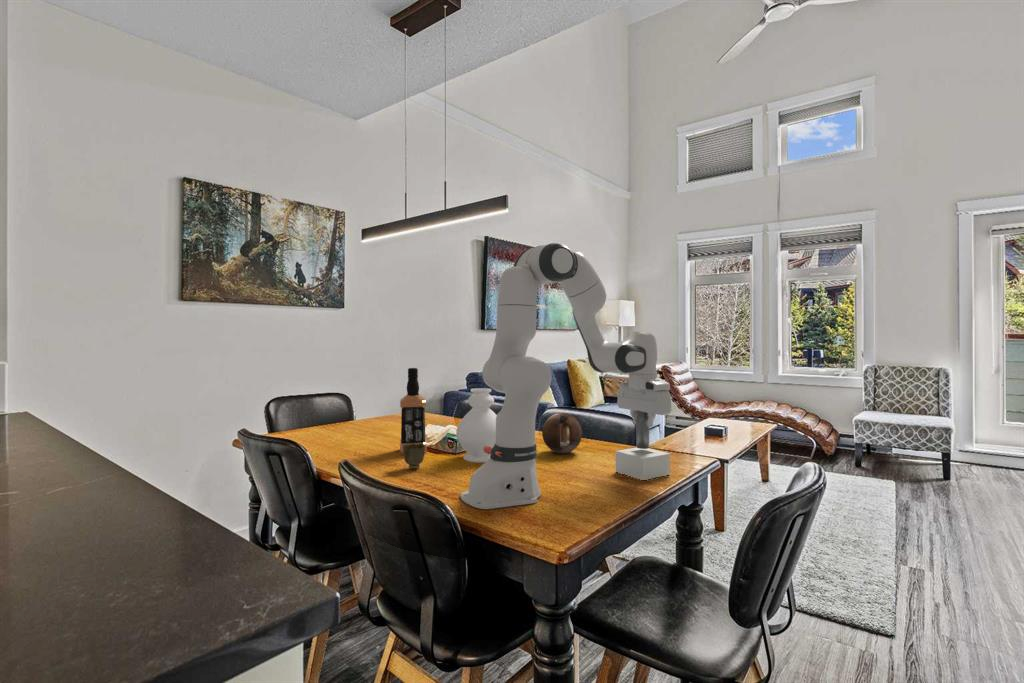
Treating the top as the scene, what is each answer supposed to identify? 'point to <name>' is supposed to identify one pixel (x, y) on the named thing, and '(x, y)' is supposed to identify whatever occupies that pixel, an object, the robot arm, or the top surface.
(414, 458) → the cup
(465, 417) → the decorative vase
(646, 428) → the steel pin
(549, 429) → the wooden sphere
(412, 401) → the whiskey bottle
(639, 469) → the block
